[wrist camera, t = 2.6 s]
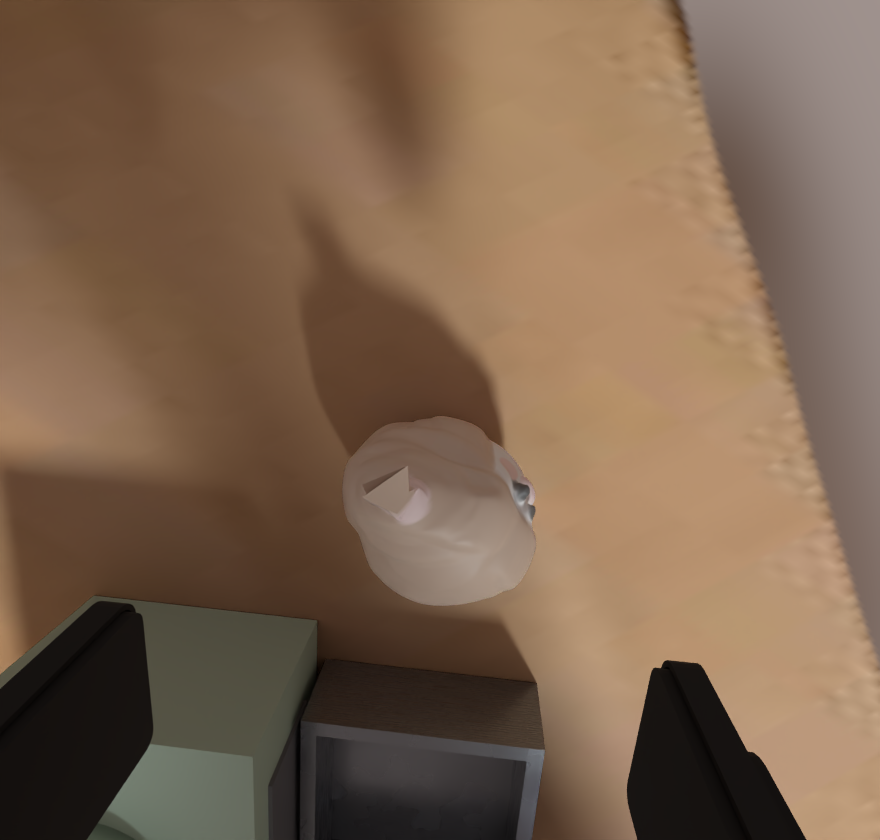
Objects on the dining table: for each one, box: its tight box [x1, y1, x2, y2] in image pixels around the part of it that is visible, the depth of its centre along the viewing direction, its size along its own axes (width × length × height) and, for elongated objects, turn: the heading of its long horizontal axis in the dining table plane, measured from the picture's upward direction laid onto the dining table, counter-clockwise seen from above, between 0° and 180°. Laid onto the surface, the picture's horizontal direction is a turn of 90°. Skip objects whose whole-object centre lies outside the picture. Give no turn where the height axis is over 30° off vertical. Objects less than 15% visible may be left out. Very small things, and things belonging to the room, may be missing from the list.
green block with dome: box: [0, 596, 317, 840], centre depth 22 cm, size 10×14×8 cm
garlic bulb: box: [342, 416, 536, 606], centre depth 18 cm, size 7×6×8 cm
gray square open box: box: [300, 659, 545, 840], centre depth 24 cm, size 9×10×4 cm
